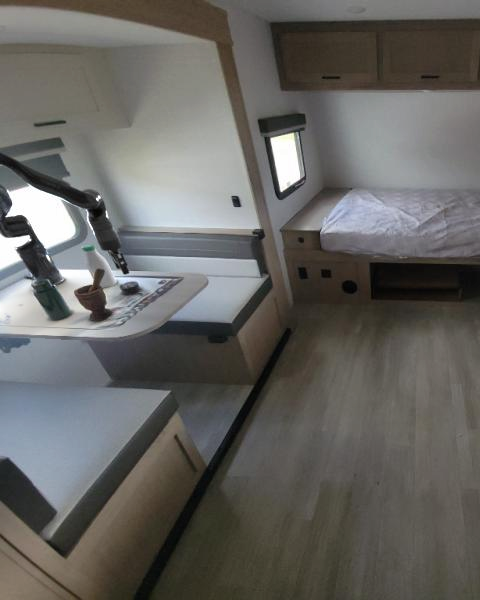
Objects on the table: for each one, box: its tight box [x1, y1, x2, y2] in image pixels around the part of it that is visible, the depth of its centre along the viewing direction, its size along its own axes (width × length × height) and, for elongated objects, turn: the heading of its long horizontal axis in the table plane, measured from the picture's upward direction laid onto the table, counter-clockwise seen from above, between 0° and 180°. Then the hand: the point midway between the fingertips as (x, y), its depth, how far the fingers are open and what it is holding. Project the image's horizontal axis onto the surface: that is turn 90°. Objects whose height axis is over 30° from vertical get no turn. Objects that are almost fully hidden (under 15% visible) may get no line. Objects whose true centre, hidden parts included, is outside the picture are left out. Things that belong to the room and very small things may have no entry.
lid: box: [119, 281, 142, 296], centre depth 156 cm, size 7×7×3 cm
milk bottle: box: [81, 244, 117, 289], centre depth 156 cm, size 8×8×20 cm
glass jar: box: [30, 279, 73, 321], centre depth 135 cm, size 7×7×16 cm
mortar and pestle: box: [73, 268, 113, 322], centre depth 135 cm, size 12×9×20 cm
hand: (123, 270), depth 152 cm, fingers open, 8 cm apart
